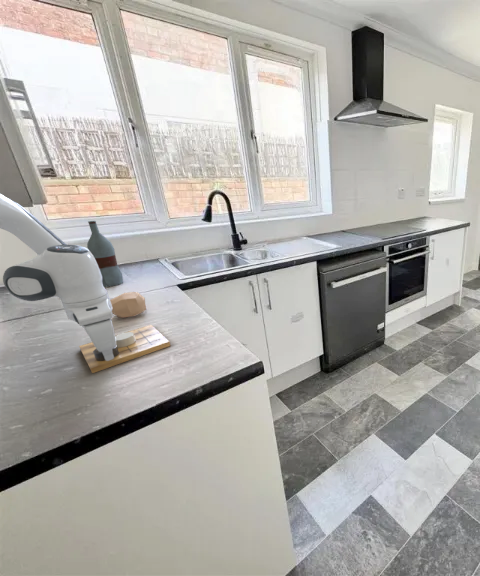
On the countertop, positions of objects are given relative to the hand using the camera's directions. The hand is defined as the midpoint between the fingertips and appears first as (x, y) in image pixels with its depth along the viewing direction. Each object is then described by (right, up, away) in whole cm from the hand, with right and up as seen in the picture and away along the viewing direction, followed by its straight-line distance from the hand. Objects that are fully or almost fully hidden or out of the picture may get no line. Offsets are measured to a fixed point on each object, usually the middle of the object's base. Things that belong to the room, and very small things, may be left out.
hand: (105, 353), depth 85 cm
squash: (-20, +9, +33) cm, 39 cm away
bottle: (-55, +20, +64) cm, 86 cm away
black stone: (0, -1, 0) cm, 1 cm away
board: (-1, 0, +7) cm, 8 cm away
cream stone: (-1, +1, +7) cm, 7 cm away
